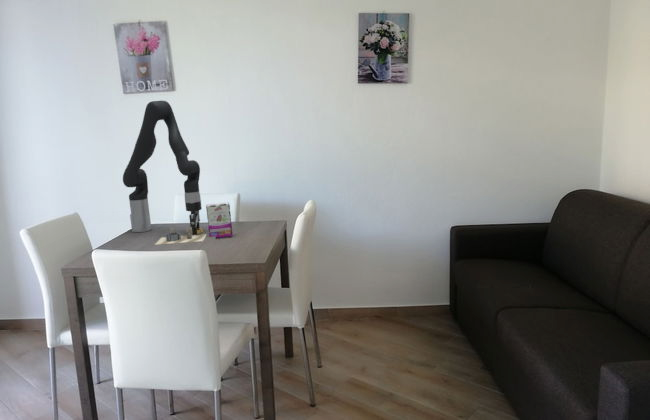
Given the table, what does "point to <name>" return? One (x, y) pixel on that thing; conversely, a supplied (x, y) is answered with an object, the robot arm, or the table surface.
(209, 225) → the candy bar box
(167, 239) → the silver gear
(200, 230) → the brass gear
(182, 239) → the gear board
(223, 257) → the table surface
